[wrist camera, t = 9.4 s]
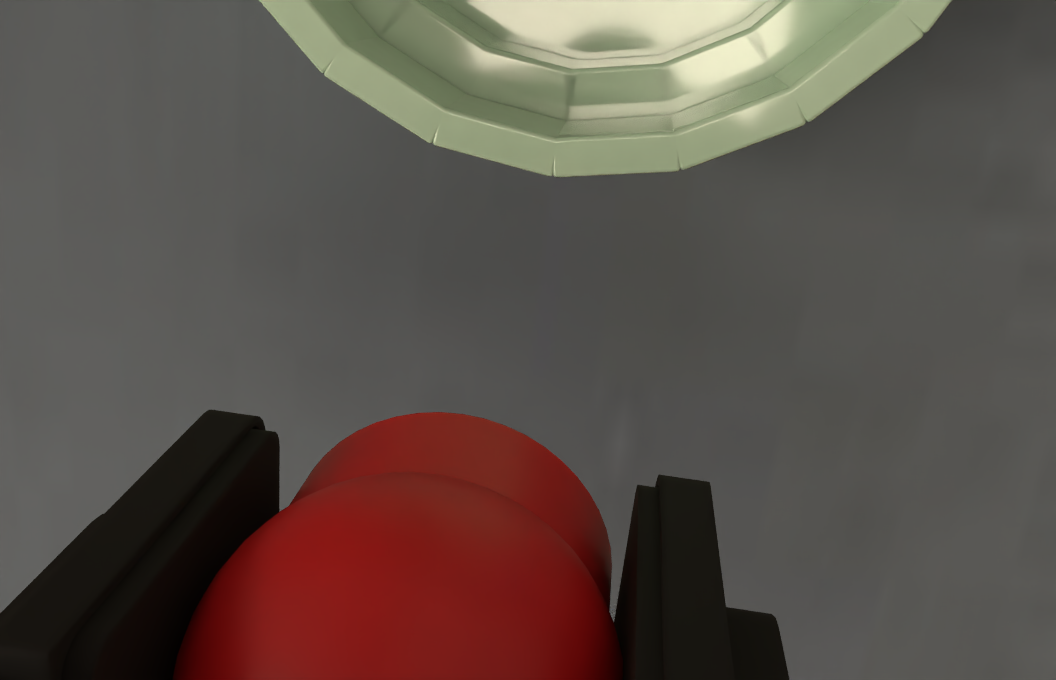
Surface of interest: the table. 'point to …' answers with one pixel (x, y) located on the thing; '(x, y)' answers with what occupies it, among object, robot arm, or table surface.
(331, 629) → the strawberry
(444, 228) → the table surface
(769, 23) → the bowl
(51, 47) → the table surface
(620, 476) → the table surface
